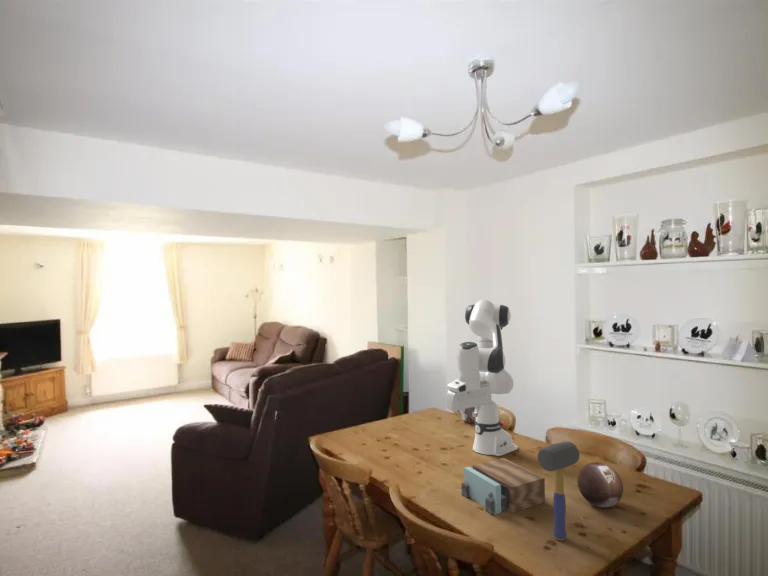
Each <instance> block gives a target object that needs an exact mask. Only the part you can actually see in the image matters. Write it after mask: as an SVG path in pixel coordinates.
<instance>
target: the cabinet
mask: <svg viewBox="0 0 768 576" xmlns="http://www.w3.org/2000/svg"><path fill="white" fill-rule="evenodd" d="M472 469H474V470H476V471H478V472H479V473H481V474H483V475H485V476H486V477H488V478H490V479H492V480H493V481H495V482H497V483H499V484H500V485H501V512H505V511H509V512H510V513H512V514H513V513H516V512H519V511H523V510H525V509H527V508H532V507H534V506H537V505H541V504H544V503H546V489H545V488H546V485H545V484H546V483H545V481H546V480H545V479H546V478H545V477H544V476H541V475H540V474H537V473H535V472H534V471H531V470H529V469H528V468H525V467H523V466H520V465H519V464H517V463H515V462H514V461H512V460H511V461H510V460H509V459H507V458H504V457H501V458H498V459H497V458H496V459H493V460H489V461H486V462H481V463H477V464H473V465H472ZM461 496H463V497H464V498H466V499H468V498H470V496H469V485H467V484H466V483H464V482H461ZM484 508H485V512H486V513H487V514H489V515H490V516H492V515H494V514H495V513H494V501H492V500H491V499H489V498H485V507H484Z"/></svg>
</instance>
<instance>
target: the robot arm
mask: <svg viewBox="0 0 768 576" xmlns="http://www.w3.org/2000/svg"><path fill="white" fill-rule="evenodd" d="M511 316H512V315H511V310H510V308H509V307H508V306H507V305H504V304H493V303H492V302H491V301H490V300H488V299H480V300H478V301H477V302H476V303H475V304H470V305H468V306H467V307H466V308H465V311H464V320H465V323H466V324H468V326H469V329H470V331H471V332H472V333H473V334H474V335H476V336H477V342H473V341H465V342H462V343H460V344H459V345H458V349H457V356H456V357H457V359H456V360H457V361H456V362H457V368H458V371H457V372H458V373H457V378H455V380H453V381H451V382H450V383H448V384H447V389H448V391H447V392H446V399H445V401H446V402H445V403H446V409H448V410H449V411H452V412H456V411H457V412H458V410H459V411H460V412H459V414H460V413H461V414H460V415H461V420H463V421H464V420H465V419H467V415H466V414H465V413H464V411H465V409H467V408H471V407H475V410H474V412H472V414H473V417H475V419H474V431H475V432H474V442H473V444H472V445H473V446H472V450H473V451H474V452H476V453H478V454H482V455H486V456H487V455H488V456H497V457H501V456H504V455H506V454H508V453H512V452H514V451H516V450H518V449H519V446H517V444H515V443H513V442H514V441H513V437H512V435H511V434H510V433H509V432H507V431H506V430H504V428H502V427H505V426H506V422H505V421H500V420H499V406H498V404H497V403H496V402H495V401H494V400H493V399H492V394H493V395H507V394H510V393H511V392H512V390H513V389H514V385H515V384H514V379H513V377H512V375H511V373H509V372H508V371H507V370H506V369H505V368H506V367H505V366H506V356H505V353H504V350H503V349H504V347H503V337H502V332H501V330H503V328H506V326H508V325H509V322H510V321H511Z"/></svg>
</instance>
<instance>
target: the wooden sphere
mask: <svg viewBox="0 0 768 576" xmlns="http://www.w3.org/2000/svg"><path fill="white" fill-rule="evenodd" d="M576 481H577V488H578V490H579V492H580V494H581V496H582V497H583V498H584V499H585V500H586V501H587V502H588V503H590V504H591V505H593V506H596V507H599V508H610V507H613V506H615V505H617V504H618V503H619V502H620V501H621V499H622V497H623V493H624V483H623V481H622V478H621V476H620V475H619V474H618V472H617V471H616V470H615V469H614V468H613V467H611V466H610V465H608V464H606V463H603V462H599V461H598V462H590V463H588V464H585V465H584V466H582V467H581V469H580V470H579V472H578V474H577V479H576Z"/></svg>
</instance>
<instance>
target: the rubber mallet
mask: <svg viewBox="0 0 768 576" xmlns="http://www.w3.org/2000/svg"><path fill="white" fill-rule="evenodd" d="M537 459H538V462H539V465H540V466H541V468H543V469H544V470H545V471H549V472H553V471H554V493H553V497H552V500H553V501H552V502H553V503H552V508H553V509H552V510H553V520H554V522H553V529H552V532H553V536H554V537H555V539H556V540H558V541H564V540H565V539H566V538H567V536H568V535H567V530H566V512H567V511H566V510H567V503H566V497H565V496H566V495H565V493H564V489H565V488H564V469H565V468H568V467H570V466H572V465H574V464H576V463H577V462H579V460H580V451H579V449H578V447H577V446H576V445H575V444H574V443H573V442H571V441H562V442H557V443H554V444H550V445H547V446H545V447H543V448H541V449H539V450H538V452H537Z"/></svg>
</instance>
